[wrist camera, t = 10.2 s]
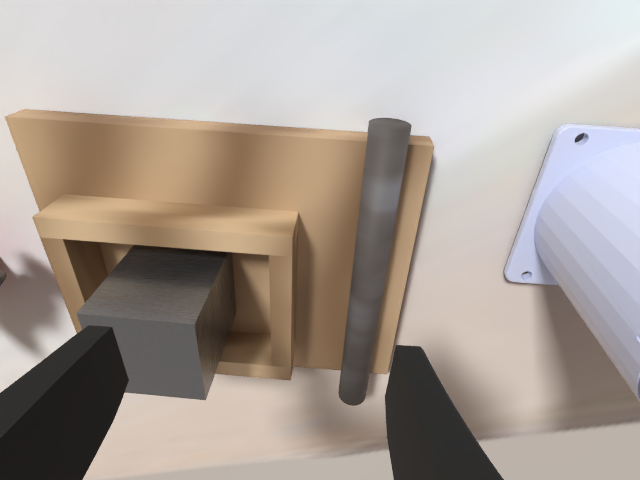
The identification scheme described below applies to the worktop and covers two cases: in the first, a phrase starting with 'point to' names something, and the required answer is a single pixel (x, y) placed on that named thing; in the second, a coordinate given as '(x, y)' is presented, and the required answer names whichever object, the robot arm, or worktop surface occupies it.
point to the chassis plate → (242, 224)
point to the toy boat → (2, 277)
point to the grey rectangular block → (167, 317)
